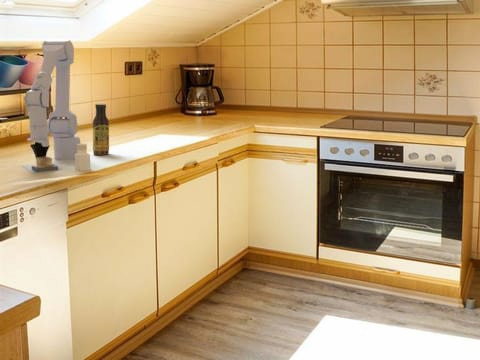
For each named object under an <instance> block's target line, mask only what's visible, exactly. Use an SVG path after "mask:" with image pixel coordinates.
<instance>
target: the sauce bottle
mask: <svg viewBox="0 0 480 360" xmlns="http://www.w3.org/2000/svg"><path fill="white" fill-rule="evenodd" d="M106 112H107V104H106V103H95V117H94V119H93V120H92V151H93V155H95V156H107V155H108V154H109V153H110V151H109V150H110V125H109V123H110V121H109V119H108V117H107V113H106Z"/></svg>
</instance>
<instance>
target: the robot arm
mask: <svg viewBox="0 0 480 360" xmlns="http://www.w3.org/2000/svg"><path fill="white" fill-rule="evenodd" d="M41 45H42V46H41V51H42V55H43V58H42V59H43V60H42V63H41V67H40V71H39V72H37V73H36V74H35V77H34V80H33V82H32V85H31V87H30V90H28V91H26V92H25V94H24V104H25V105H26V111H27V113H28V117H29V119H28V120H29V121H28V122H29V131H30V138H26V141H28V142H34V143H33V144H31V143H30V145H29V146H30V148H31V149H32V152H33V154H34V157H35V158H36V157H45V156H47V153H48V151H49V148H50V146H51V145H50V139H49V135H50V136H51V137H52V139H53V141H52V142H53V155H54V159H55V160H71V159H72V160H73V159H75V154H77V153H78V150H77V144H81V140H80V139H81V138H80V137H79V135H76V134H77V133H78V128H79V127H78V125H79V124H78V120H77V118H78V117H77V115H76V114H75V113H73V111H72V110H70V87H71V86H70V84H71V83H70V81H71V80H70V79H71V78H70V75H71V74H70V73H71V65H73V63H74V59H75V58H74V57H75V48H74V44H73V42H72V41H71V40H70V39H45V40H44V41H43V42H42V44H41ZM54 69H55V99H54V100H55V104H54V105H55V108H54V110H52V112H51V113H49V114H47V107H48V106H49V104H50V88H51V85H52V83H53V77H52V76H51V75H52V73H53V71H54ZM47 115H48V116H47Z"/></svg>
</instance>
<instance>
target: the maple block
mask: <svg viewBox="0 0 480 360" xmlns="http://www.w3.org/2000/svg"><path fill="white" fill-rule="evenodd" d="M35 160H36V161H35V162H36V164H37V168H42V167H51V166H52V164H53V158H52V157H50V156H48V155H46V156H45V157H35Z"/></svg>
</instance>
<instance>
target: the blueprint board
mask: <svg viewBox="0 0 480 360" xmlns="http://www.w3.org/2000/svg"><path fill="white" fill-rule="evenodd" d="M21 167H22V168H24V169H26V170H28V171H29V172H30V173H32V174H41V173H49V172H56V171H57V172H58V171H59V172H60V171H63V169H62V168H60V167H59V166H58V165H56V164H54V163H52V166H51V167H42V168H37V164H26V165H21Z"/></svg>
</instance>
